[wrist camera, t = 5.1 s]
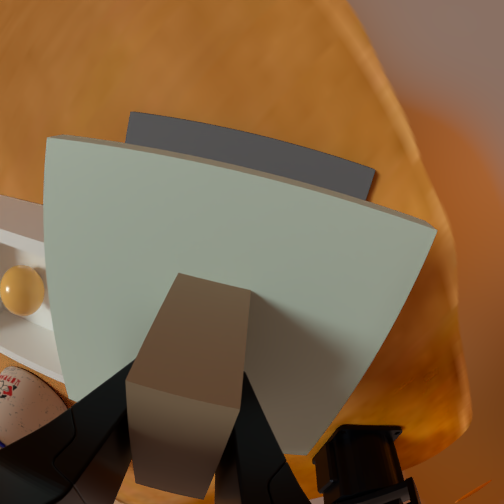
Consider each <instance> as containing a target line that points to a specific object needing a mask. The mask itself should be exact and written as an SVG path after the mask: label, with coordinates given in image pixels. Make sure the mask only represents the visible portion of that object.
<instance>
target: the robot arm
mask: <svg viewBox="0 0 504 504" xmlns="http://www.w3.org/2000/svg"><path fill="white" fill-rule="evenodd" d="M135 359H136V358H135ZM135 359H134V360H133V361H132V362H130V363H129V364H128V365H126V366H125V367H124V368H122V369H121V370H120V371H118V372H117V373H116V374H114V375H113V376H112V377H110V378H109V379H108V380H106V381H105V382H104V383H102V384H101V385H100V386H98V387H97V388H96V389H94V390H93V391H92V392H90V393H89V394H88V395H86V396H85V397H84V398H82V399H81V400H80V401H78V402H77V403H76V404H74V405H73V406H71V408H69V409H67V410H66V411H65V412H63V413H62V414H60V415H59V416H58V417H56V418H55V419H53V420H52V421H50V422H49V423H47V424H46V425H44V426H42V427H40V428H39V429H37V430H35V431H34V432H32V433H30V434H28V435H26V436H24V437H22V438H20V439H19V440H17V441H15V442H13V443H11V444H9V445H7V446H5V447H3V448H1V449H0V504H113V503H114V501H115V499H116V496H117V494H118V491H119V489H120V486H121V484H122V481H123V479H124V476H125V474H126V472H127V469H128V467H129V464H130V462H131V459H132V453H131V445H130V435H129V425H128V413H127V400H126V382H125V380H126V378H127V376H128V374H129V372H130V369H131V367H132V365H133V363H134V361H135ZM401 433H402V429H401V427H373V426H347V425H344V426H340V427H338V428H337V429H336V430H335V432H334V433H333V434H332V436H331V437H330V438H329V439H328V441H327V442H326V443H325V444H324V445H323V447H322V448H321V449H320V450H319V452H318V453H317V454H316V455H315V456H314V458H313V459H312V463H313V464H315V466H316V477H317V488H318V492H319V493H323V497H324V504H403V502H405V501H407V500H410V501H411V502H409V503H407V504H421V502H420V498H419V494H418V491H417V488H416V485H415V483H414V480H413V478H412V477H410V478H408V479H406V480H405V481H404V478H403V475H402V470H401V467H400V463H399V459H398V456H397V452H396V448H395V445H394V440H395V439H396V438H397V437H398V436H399V435H400V434H401ZM285 462H286V458H285V456H284V454H283V452H282V450H281V448H280V446H279V444H278V442H277V440H276V438H275V436H274V433H273V431H272V429H271V427H270V425H269V423H268V421H267V418H266V416H265V414H264V412H263V410H262V408H261V405H260V403H259V401H258V399H257V397H256V394H255V392H254V390H253V388H252V385H251V383H250V381H249V379H248V376H247V374H246V372H245V371H244V372H243V383H242V394H241V405H240V411H239V414H238V416H237V419H236V421H235V424H234V426H233V429H232V431H231V434H230V437H229V439H228V442H227V444H226V447H225V449H224V452H223V454H222V457H221V459H220V461H219V464H218V466H217V469H216V471H215V504H311V502H310V501H309V499H308V498H307V496H306V495H305V493H304V492H303V490H302V489H301V487H300V485H299V483H298V482H297V480H296V478H295V476H294V474H293V472H292V470H291V468H290V466H289V464H288V463H287V462H286V463H285Z"/></svg>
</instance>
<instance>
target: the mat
mask: <svg viewBox="0 0 504 504" xmlns="http://www.w3.org/2000/svg"><path fill="white" fill-rule="evenodd" d="M125 143H127V144H133V145H139V146H145V147H150V148H156V149H161V150H167V151H172V152H177V153H182V154H187V155H192V156H197V157H202V158H206V159H211V160H216V161H220V162H225V163H229V164H233V165H238V166H242V167H246V168H250V169H254V170H258V171H262V172H266V173H270V174H274V175H278V176H282V177H286V178H289V179H293V180H297V181H301V182H304V183H308V184H311V185H315V186H318V187H322V188H325V189H329V190H332V191H336V192H339V193H342V194H345V195H349V196H352V197H355V198H358V199H362V200H366V198H367V195H368V192H369V189H370V186H371V182H372V179H373V176H374V173H375V170H374V169H372V168H370V167H367V166H364V165H361V164H358V163H355V162H352V161H349V160H346V159H342V158H339V157H336V156H333V155H330V154H326V153H323V152H320V151H316V150H313V149H310V148H306V147H303V146H299V145H295V144H292V143H288V142H284V141H280V140H277V139H273V138H269V137H265V136H261V135H257V134H252V133H248V132H244V131H239V130H235V129H230V128H226V127H221V126H216V125H211V124H206V123H201V122H196V121H190V120H185V119H179V118H173V117H167V116H160V115H154V114H147V113H140V112H130V117H129V123H128V129H127V135H126V141H125Z"/></svg>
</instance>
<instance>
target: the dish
mask: <svg viewBox="0 0 504 504" xmlns="http://www.w3.org/2000/svg"><path fill="white" fill-rule="evenodd" d="M0 353H2V354H4V355H6V356H8V357H10V358H12V359H14V360H15V361H17V362H19V363H21V364H23V365H25V366H27V367H29V368H31V369H33V370H36V371H38V372H40V373H42V374H44V375H46V376H48V377H51V378H53V379H55V380H57V381H60V382H62V383H64V384H65V382H64V378H63V374H62V370H61V365H60V361H59V356H58V351H57V346H56V341H55V336H54V330H53V324H52V317H51V311H50V303H49V295H48V287H47V277H46V265H45V250H44V223H43V205H40V204H36V203H32V202H28V201H24V200H20V199H16V198H12V197H8V196H3V195H0Z"/></svg>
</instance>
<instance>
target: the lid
mask: <svg viewBox="0 0 504 504" xmlns="http://www.w3.org/2000/svg"><path fill="white" fill-rule="evenodd" d="M43 223H44V250H45V265H46V277H47V287H48V295H49V303H50V311H51V317H52V324H53V330H54V336H55V341H56V346H57V351H58V356H59V361H60V365H61V370H62V374H63V378H64V382H65V386H66V390H67V394H68V397H69V399H71V400H74V401H76V402H78V401H80V400H81V399H82V398H84V397H85V396H86V395H88V394H89V393H90V392H92V391H93V390H94V389H96V388H97V387H98V386H100V385H101V384H102V383H104V382H105V381H106V380H108V379H109V378H110V377H112V376H113V375H114V374H116V373H117V372H118V371H120V370H121V369H122V368H124V367H125V366H126V365H128V364H129V363H130V362H132V361H133V360H134V359H135V358H136V359H135V361H134V363H133V365H132V367H131V369H130V372H129V374H128V376H127V378H126V380H125V382H126V400H127V413H128V425H129V435H130V445H131V453H132V461H133V469H134V475H135V482H136V483H138V484H141V485H144V486H148V487H151V488H155V489H159V490H163V491H167V492H171V493H175V494H179V495H184V496H188V497H193V498H198V499H203V500H204V497H205V495H206V493H207V490H208V488H209V486H210V483H211V481H212V478H213V476H214V474H215V471H216V469H217V466H218V464H219V461H220V459H221V457H222V454H223V452H224V449H225V447H226V444H227V442H228V439H229V437H230V434H231V431H232V429H233V426H234V424H235V421H236V419H237V416H238V414H239V411H240V405H241V394H242V383H243V372H244V371H245V372H246V374H247V376H248V379H249V381H250V383H251V385H252V388H253V390H254V392H255V394H256V397H257V399H258V401H259V403H260V405H261V408H262V410H263V412H264V414H265V416H266V418H267V421H268V423H269V425H270V427H271V429H272V431H273V433H274V436H275V438H276V440H277V442H278V444H279V446H280V448H281V450H282V452H283V453H285V454H295V455H307V454H308V453H309V451H310V450H311V449H312V448H313V446H314V445H315V444H316V443H317V441H318V440H319V439H320V437H321V436H322V435H323V433H324V432H325V431H326V429H327V428H328V427H329V425H330V424H331V423H332V421H333V420H334V418H335V417H336V416H337V414H338V413H339V411H340V410H341V408H342V407H343V406H344V404H345V403H346V401H347V400H348V398H349V397H350V395H351V394H352V392H353V391H354V389H355V388H356V386H357V385H358V383H359V382H360V380H361V378H362V377H363V375H364V374H365V372H366V370H367V369H368V367H369V366H370V364H371V362H372V361H373V359H374V357H375V356H376V354H377V352H378V351H379V349H380V347H381V345H382V344H383V342H384V340H385V339H386V337H387V335H388V333H389V331H390V330H391V328H392V326H393V324H394V322H395V320H396V318H397V317H398V315H399V313H400V311H401V309H402V307H403V305H404V303H405V301H406V299H407V297H408V295H409V293H410V291H411V289H412V287H413V285H414V283H415V281H416V279H417V277H418V274H419V272H420V270H421V268H422V266H423V263H424V261H425V259H426V257H427V254H428V252H429V250H430V247H431V245H432V243H433V240H434V238H435V235H436V233H437V230H436V229H435V228H434V227H432V226H431V225H430V224H428V223H427V222H426V221H424V220H421V219H418V218H415V217H413V216H410V215H407V214H404V213H401V212H398V211H395V210H392V209H389V208H386V207H383V206H380V205H377V204H374V203H371V202H368V201H365V200H362V199H358V198H355V197H352V196H349V195H345V194H342V193H339V192H336V191H332V190H329V189H325V188H322V187H318V186H315V185H311V184H308V183H304V182H301V181H297V180H293V179H289V178H286V177H282V176H278V175H274V174H270V173H266V172H262V171H258V170H254V169H250V168H246V167H242V166H238V165H233V164H229V163H225V162H220V161H216V160H211V159H206V158H202V157H197V156H192V155H187V154H182V153H177V152H172V151H167V150H161V149H156V148H150V147H145V146H139V145H133V144H127V143H121V142H114V141H108V140H101V139H94V138H86V137H79V136H71V135H57V136H52V137H47V144H46V156H45V171H44V197H43Z"/></svg>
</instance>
